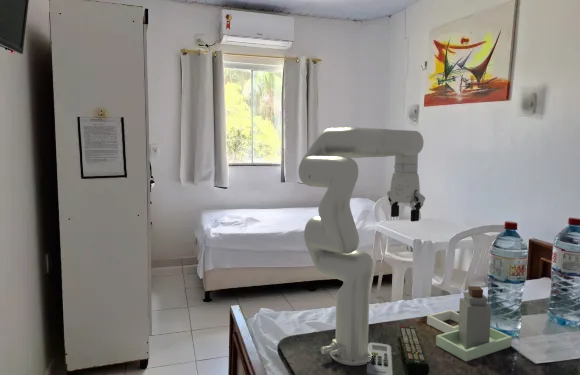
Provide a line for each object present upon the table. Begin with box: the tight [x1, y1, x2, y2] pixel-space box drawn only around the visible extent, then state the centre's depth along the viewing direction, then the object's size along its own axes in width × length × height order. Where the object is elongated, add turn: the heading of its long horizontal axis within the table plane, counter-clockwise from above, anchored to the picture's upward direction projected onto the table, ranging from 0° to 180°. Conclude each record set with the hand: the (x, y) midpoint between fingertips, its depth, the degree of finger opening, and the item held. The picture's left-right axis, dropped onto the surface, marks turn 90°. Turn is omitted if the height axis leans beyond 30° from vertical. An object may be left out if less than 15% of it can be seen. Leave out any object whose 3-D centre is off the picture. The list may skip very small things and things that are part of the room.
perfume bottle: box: [458, 285, 492, 349], centre depth 125 cm, size 7×7×18 cm
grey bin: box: [426, 309, 459, 334], centre depth 139 cm, size 11×11×3 cm
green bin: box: [435, 327, 513, 362], centre depth 126 cm, size 20×11×3 cm, turn 117°
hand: (404, 218), depth 141 cm, fingers open, 9 cm apart
